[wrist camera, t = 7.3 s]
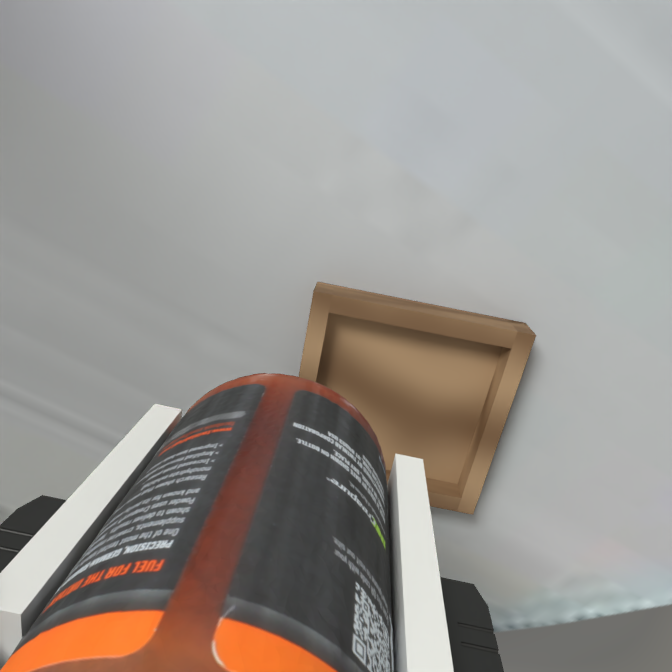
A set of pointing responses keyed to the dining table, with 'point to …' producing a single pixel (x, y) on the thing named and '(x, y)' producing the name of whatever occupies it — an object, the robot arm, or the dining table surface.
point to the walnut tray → (420, 380)
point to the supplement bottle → (236, 548)
